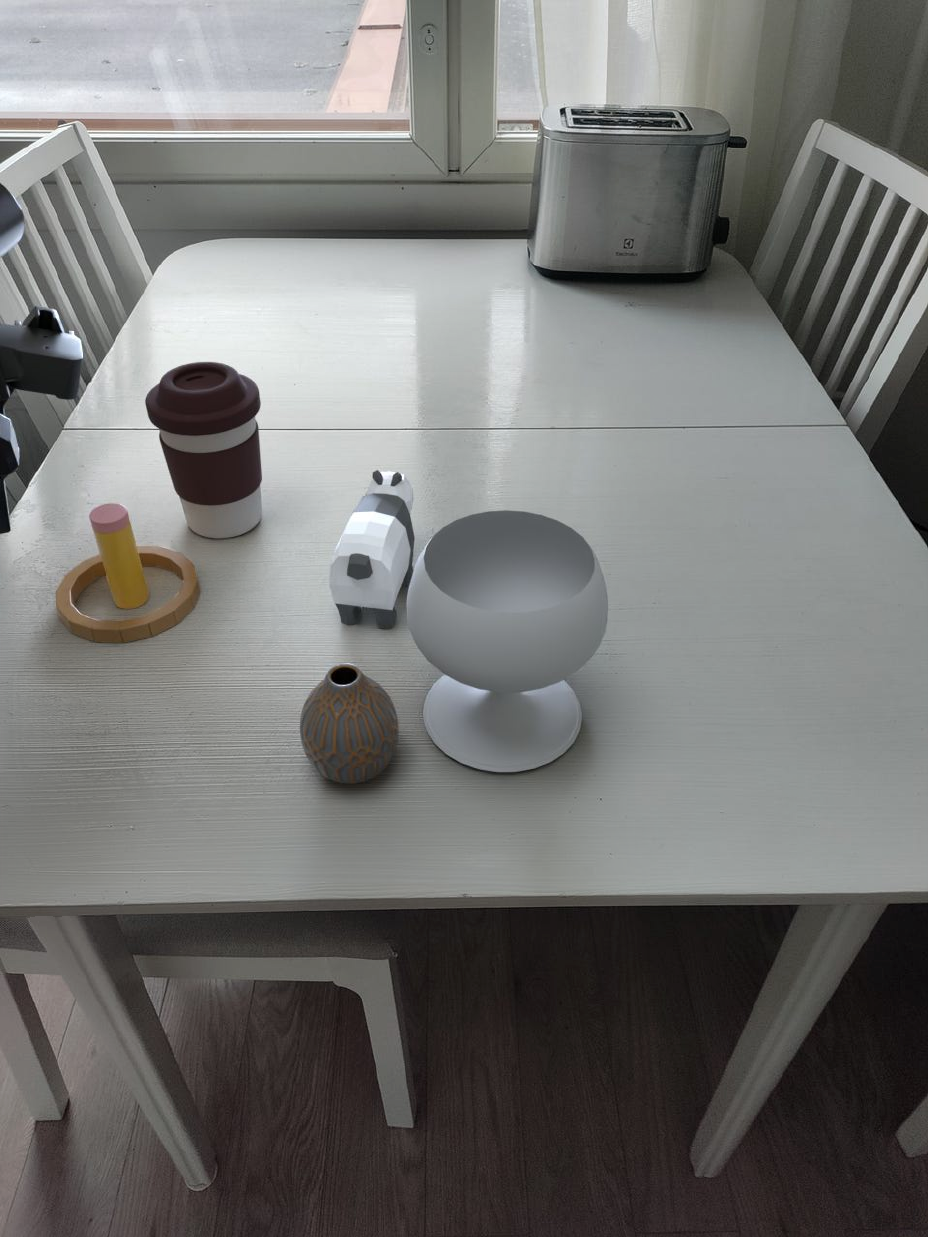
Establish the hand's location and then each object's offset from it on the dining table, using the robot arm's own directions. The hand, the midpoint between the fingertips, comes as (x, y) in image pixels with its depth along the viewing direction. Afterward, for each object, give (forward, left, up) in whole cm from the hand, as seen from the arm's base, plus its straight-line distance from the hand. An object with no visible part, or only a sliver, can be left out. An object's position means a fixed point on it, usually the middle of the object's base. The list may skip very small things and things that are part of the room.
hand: (3, 500), depth 74 cm
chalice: (+6, -40, -12) cm, 42 cm away
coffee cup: (+19, -5, -12) cm, 23 cm away
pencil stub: (+5, -5, -12) cm, 14 cm away
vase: (-3, -32, -12) cm, 34 cm away
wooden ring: (+5, -5, -12) cm, 14 cm away
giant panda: (+16, -24, -12) cm, 31 cm away
